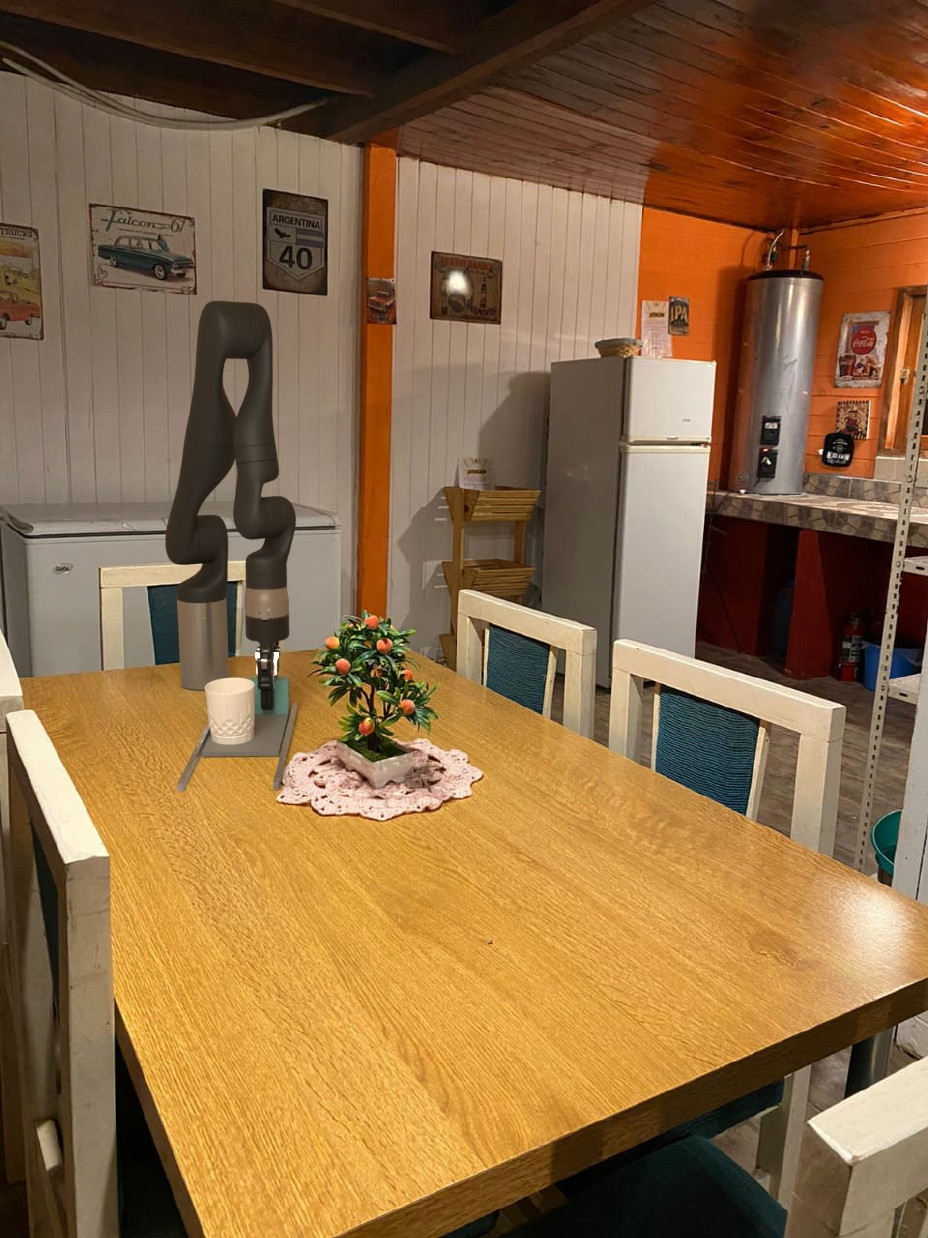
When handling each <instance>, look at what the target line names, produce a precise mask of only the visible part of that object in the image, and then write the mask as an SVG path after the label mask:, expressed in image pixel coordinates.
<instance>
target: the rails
mask: <svg viewBox="0 0 928 1238" xmlns="http://www.w3.org/2000/svg"><path fill="white" fill-rule="evenodd" d="M298 705H299V704H298V701H297V702H292V706H291V708H290V714H289V718H288V722H287V726H286V730H285V734H284V738H283V742H282V746H281V750H280V754H279V756H278V757H279V759H278V761H277V764H276V769H275V774H274V777H273V782H272V786H273V787H272V791H279V790H280V787H281V783H282V779H281V778H283V774H282V772H283V773H284V770H285V765H286V761H287V757H288V752H289V748H290V743H291V739H292V736H293V730H294V727H295V722H296V718H297V713H298ZM210 733H211V731H210V728H209V721H207V723H206V725H205V727H204V728H203V731H202V733H201V735H200V737H199V739H198V741H197V744H195V747H194V749H193V751H192V753H191V754H190V757H189V759H188V761H187V764H186V765H185V767H184V770H183V771H182V773H181V776H180V778H179V779H178V781H177V784H176V786H177V788H176V789H177V793H183V792H185V790H186V786H187V784H188V782H189V781H190V778H191V776H192V773H193V772H194V769H195V767H196V766H197V763H198V762H199V759H200V757H201V756H202V750H203V748H204V746H205V744H206V742H207V740H208V738H209V735H210ZM283 769H284V770H283Z"/></svg>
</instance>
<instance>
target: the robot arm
mask: <svg viewBox="0 0 928 1238" xmlns="http://www.w3.org/2000/svg"><path fill="white" fill-rule="evenodd" d="M198 321H199V322H198V327H197V337H196V338H197V339H196V349H195V350H196V353H195V354H196V355H195V364H194V365H195V366H194V367H195V369H194V381H193V389H192V394H191V395H192V396H191V400H190V401H191V403H190V407H189V412H188V413H189V414H188V418H187V423H186V426H185V435H184V439H183V440H184V441H183V447H182V455H181V463H180V469H179V476H178V481H177V484H176V485H177V487H176V491H175V495H174V499H173V501H172V505H171V509H170V512H169V516H168V521H167V525H166V528H165V529H166V530H165V535H164V536H165V538H164V539H165V540H164V542H165V544H164V546H165V552H166V556H167V558H168V559H169V561H171V563H173V564H175V565H178V566H190V565H201V567H200V569H199V570H198V571H197V572H196V573H195V574H194V575H192V576H191V577H189V578H186V579H185V580H183V581H181V582H180V583H178V584H177V586H176V604H177V607H176V608H177V623H178V625H177V626H178V647H179V648H178V651H179V671H180V673H179V675H180V686H181V687H183V688H184V689H189V690H196V691H203V690H204V691H205V686H206V685H207V684H208V683H210V682H212V681H214V680H218V679H223V678H230V676H229V675H230V671H229V670H230V669H229V640H228V638H229V637H228V636H229V635H228V611H227V610H228V608H227V587H228V584H229V583H228V581H229V577H228V575H229V571H228V570H229V567H228V566H229V534H228V528H227V525H226V523H225V521H224V519H223V518H222V517H221V516H219V515H217V514H201V515H198V514H199V512H200V510H201V507H202V505H203V503H205V501H206V500H207V498H208V497H209V496H210V494H211V493H212V492H213V491H214V490H215V489H216V488H217V487H218V486H219V484H221V483H222V481H223V480H224V479H225V478H226V477H227V475H228V474H229V473H230V471H231V470H232V467H233V466H234V464H235V465H236V473H237V474H236V484H235V493H234V499H233V500H234V502H233V510H232V518H233V523H234V526H235V529H236V530H237V532H238V534H239V535H240V536H241V537H243V538H244V539H246V540H250V541H251V540H252V541H255V540H262V539H264V541H263V544H262V546H261V547H260V548H259V549H258V550H257V549H256V551H253V552H251V553H249V554H248V555H247V556H246V558H245V563H244V565H245V567H244V568H245V594H244V612H245V613H244V614H245V615H244V617H245V637H246V638H247V639H248V640H249V641H252V642H257V643H259V646H257V647H256V650H255V663H256V675H257V677H258V685H257V687H258V689H260V691H261V709H262V710H273V708H274V688H275V685H274V677H279V671H280V664H281V663H280V656H281V646H279V645H280V642H281V641H285V640H287V639H288V638H289V637H290V599H289V598H290V597H289V591H288V568H287V563H288V559H289V556H290V552H291V547H292V544H293V539H294V537H295V531H296V526H297V516H296V511H295V508H294V506H293V504H292V502H291V501H290V500H289V499H288V498H286V497H285V496H281V495H272V496H262V491H263V488H264V485H265V484H268V483H270V482H274V481H275V480H277V479H278V477H279V475H280V466H279V459H278V452H277V444H276V439H275V438H276V437H275V429H274V428H275V427H274V418H273V417H274V416H273V415H274V414H273V389H274V388H273V387H274V386H273V385H274V384H273V383H274V381H273V380H274V379H273V378H274V376H273V375H274V372H273V371H274V363H273V361H274V355H273V351H274V350H273V349H274V346H273V345H274V344H273V343H274V342H273V330H272V323H271V320H270V316H269V314H268V311H267V310H266V309H265V307H263V305H261V304H259V303H256V302H246V301H228V300H227V301H226V300H212V301H209V302H207V303H206V304H205V306H203V308H202V311H201V313H200V317H199V320H198ZM227 359H228V360H229V359H230V360H234V359H235V360H246V363H247V369H248V381H247V388H246V391H245V395H244V397H243V400H242V403H241V405H240V408H239V410H238V412H237V415H236V412H235V410H234V409H233V406H232V403H230V400H229V398H228V395H227V394H226V391H225V388H224V369H225V364H226V361H227ZM263 678H269V682H263Z"/></svg>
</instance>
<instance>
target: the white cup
mask: <svg viewBox="0 0 928 1238" xmlns="http://www.w3.org/2000/svg"><path fill="white" fill-rule="evenodd" d="M204 693H205V702H206V711H207V719H208V721H209V728H210V731H211V738H212V741H214V742H216V743H219V744H226V745H228V744H240V743H245V742H248V741H250V740H252V738H253V737H254V722H255V719H254V715H255V684H254V682H253V681H251V680H249V678H243V677H229V678H223V679H218V680H214V681H212V682H210V683H208V684H207V685H206V686H205V690H204ZM208 721H207V722H208Z"/></svg>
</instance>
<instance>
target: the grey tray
mask: <svg viewBox="0 0 928 1238" xmlns="http://www.w3.org/2000/svg"><path fill="white" fill-rule="evenodd" d="M248 679H249V680H251V681H253V682H254V684H255V715H254V719H255V722H254V737H253V738H252V740H250V741H248V742H245V743H240V744H228V745H226V744H219V743H216V742H214V741H212V738H211V733H210V735H209V738H208V740H207V742H206V744H205V746H204V748H203V750H202V753H201V757H202V758H206V757H208V758H209V757H210V758H211V757H214V758H216V757H219V758H220V757H221V758H222V757H280V753H281V749H282V745H283V741H284V737H285V733H286V729H287V725H288V721H289V717H290V713H291V707H290V706H291V705H290V676H282V677H281V676H278V677H274V685H275V688H274V708H273V710H262V709H261V691H260V689H258V687H257V685H258V676H257V677H256V676H253V677H252V676H251V677H248ZM263 682H269V678H263Z"/></svg>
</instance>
